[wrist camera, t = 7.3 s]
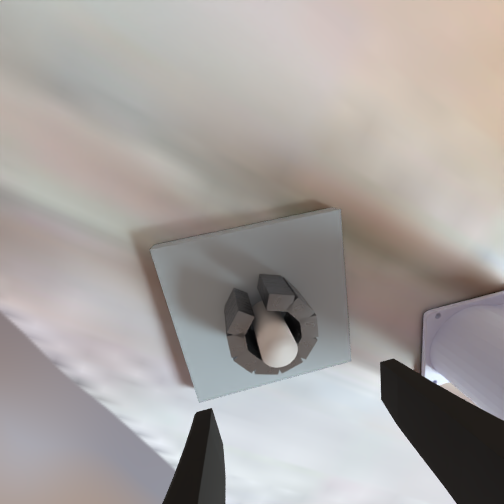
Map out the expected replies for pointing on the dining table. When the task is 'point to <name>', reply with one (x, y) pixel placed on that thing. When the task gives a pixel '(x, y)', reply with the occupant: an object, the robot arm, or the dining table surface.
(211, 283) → the stand
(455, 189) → the dining table surface
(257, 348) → the split ring
